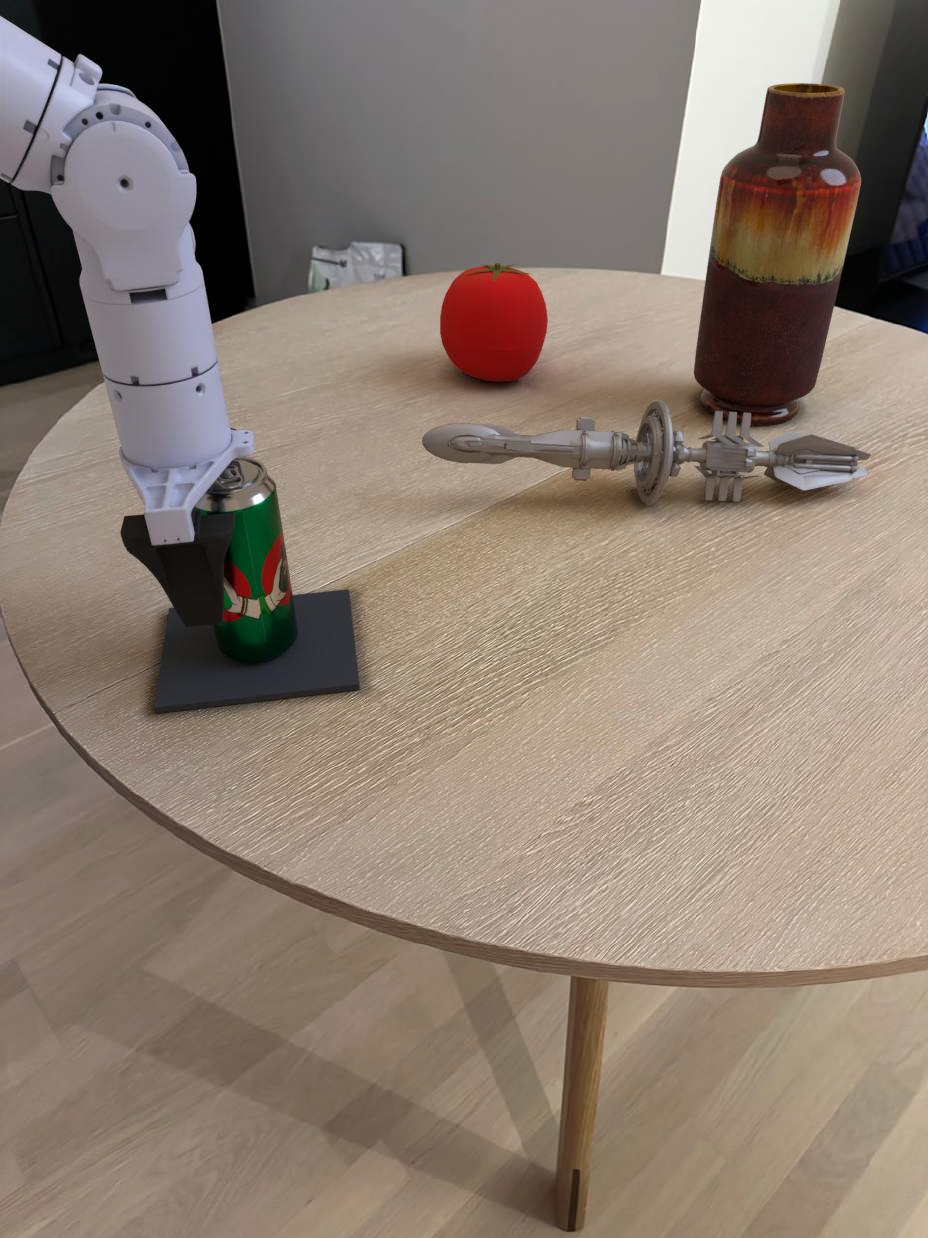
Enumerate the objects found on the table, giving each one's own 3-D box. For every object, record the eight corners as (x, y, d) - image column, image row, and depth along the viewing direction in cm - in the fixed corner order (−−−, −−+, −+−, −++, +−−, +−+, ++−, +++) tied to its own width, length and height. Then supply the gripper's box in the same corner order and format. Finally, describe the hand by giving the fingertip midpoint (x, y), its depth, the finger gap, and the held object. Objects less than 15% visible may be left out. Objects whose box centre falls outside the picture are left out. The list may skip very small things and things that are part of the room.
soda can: (285, 610, 61) (258, 445, 54) (310, 653, 58) (284, 483, 50) (209, 632, 60) (171, 464, 52) (230, 677, 56) (192, 504, 49)
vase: (756, 374, 93) (811, 74, 77) (836, 415, 85) (915, 91, 69) (665, 395, 89) (703, 84, 74) (739, 440, 81) (799, 103, 66)
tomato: (488, 404, 88) (488, 289, 82) (422, 372, 95) (417, 263, 88) (568, 376, 93) (574, 266, 87) (500, 347, 100) (501, 242, 94)
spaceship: (421, 385, 72) (427, 386, 65) (848, 410, 76) (901, 414, 68) (417, 487, 74) (422, 500, 66) (833, 507, 78) (883, 521, 70)
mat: (155, 714, 54) (153, 707, 54) (170, 613, 62) (168, 607, 62) (359, 689, 56) (359, 683, 55) (349, 594, 64) (348, 588, 63)
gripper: (235, 417, 42) (275, 651, 50) (244, 311, 53) (275, 516, 62) (73, 430, 41) (141, 665, 49) (117, 319, 53) (166, 525, 61)
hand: (208, 583), depth 55 cm, fingers open, 7 cm apart
